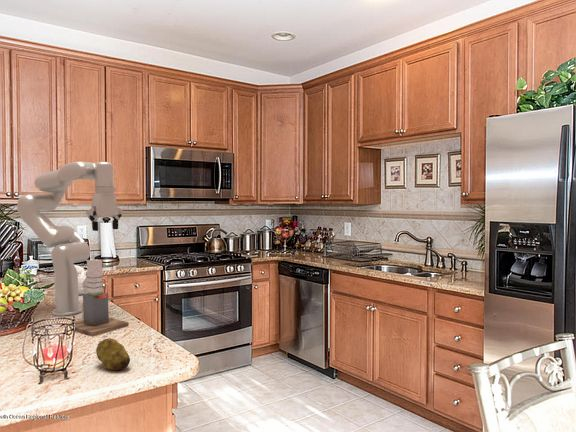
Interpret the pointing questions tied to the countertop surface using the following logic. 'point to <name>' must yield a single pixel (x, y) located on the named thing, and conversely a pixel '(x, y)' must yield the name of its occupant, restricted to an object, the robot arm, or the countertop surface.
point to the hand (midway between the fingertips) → (105, 229)
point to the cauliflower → (80, 278)
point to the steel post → (94, 277)
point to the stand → (97, 316)
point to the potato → (112, 354)
